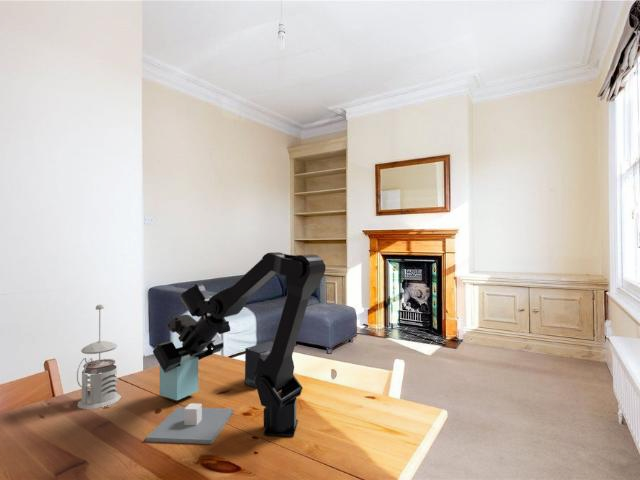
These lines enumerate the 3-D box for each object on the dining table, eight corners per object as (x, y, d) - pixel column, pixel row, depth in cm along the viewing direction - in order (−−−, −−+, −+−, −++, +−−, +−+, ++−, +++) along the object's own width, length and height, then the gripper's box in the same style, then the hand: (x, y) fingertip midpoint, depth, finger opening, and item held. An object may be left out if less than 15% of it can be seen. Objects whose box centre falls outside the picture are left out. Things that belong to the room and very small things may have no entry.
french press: (129, 393, 98) (129, 301, 99) (98, 413, 87) (99, 309, 87) (95, 392, 99) (95, 301, 100) (61, 411, 88) (61, 308, 88)
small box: (259, 389, 101) (259, 352, 101) (243, 384, 105) (243, 348, 105) (285, 378, 109) (285, 343, 109) (269, 374, 113) (269, 340, 113)
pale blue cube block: (198, 390, 97) (198, 357, 97) (177, 400, 91) (177, 364, 91) (181, 386, 100) (181, 353, 100) (159, 395, 94) (159, 360, 94)
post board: (233, 412, 87) (233, 394, 87) (211, 444, 73) (212, 422, 73) (177, 410, 88) (177, 392, 88) (145, 441, 74) (145, 420, 74)
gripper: (216, 301, 102) (189, 335, 107) (157, 311, 86) (129, 351, 91) (237, 332, 98) (208, 366, 103) (180, 349, 82) (149, 389, 87)
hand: (175, 367), depth 96 cm, fingers closed on pale blue cube block, 7 cm apart
